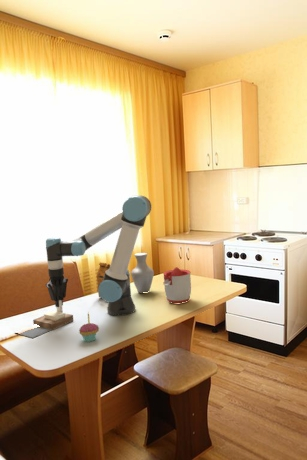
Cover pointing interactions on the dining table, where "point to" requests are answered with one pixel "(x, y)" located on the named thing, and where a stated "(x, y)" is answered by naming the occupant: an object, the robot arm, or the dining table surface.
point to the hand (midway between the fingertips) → (59, 312)
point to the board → (53, 321)
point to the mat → (35, 332)
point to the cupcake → (89, 331)
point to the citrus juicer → (177, 285)
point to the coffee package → (102, 272)
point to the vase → (142, 274)
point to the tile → (54, 315)
